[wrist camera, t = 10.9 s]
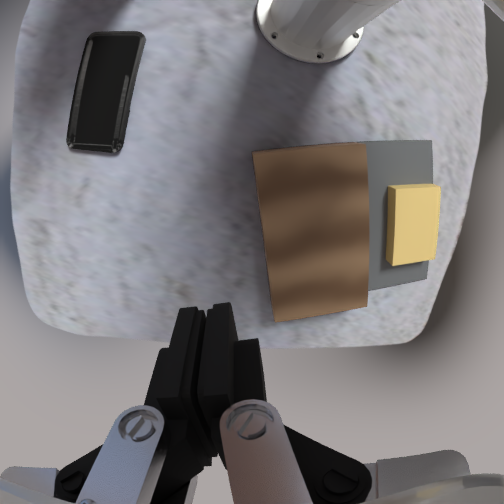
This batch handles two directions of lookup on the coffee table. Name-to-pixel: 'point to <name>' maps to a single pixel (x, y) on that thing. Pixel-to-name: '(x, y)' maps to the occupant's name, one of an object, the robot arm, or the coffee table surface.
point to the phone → (104, 90)
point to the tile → (412, 223)
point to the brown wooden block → (314, 227)
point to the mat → (379, 178)
